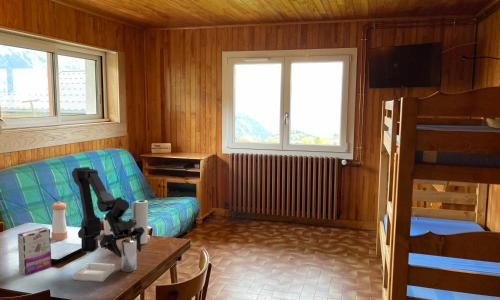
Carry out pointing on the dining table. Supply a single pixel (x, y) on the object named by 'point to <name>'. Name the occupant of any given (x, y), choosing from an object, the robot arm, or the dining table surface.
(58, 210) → the pepper shaker
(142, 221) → the paper towel roll
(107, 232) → the white cup
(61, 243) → the dining table surface
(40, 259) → the candy bar box
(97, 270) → the bin
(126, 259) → the gravel can
